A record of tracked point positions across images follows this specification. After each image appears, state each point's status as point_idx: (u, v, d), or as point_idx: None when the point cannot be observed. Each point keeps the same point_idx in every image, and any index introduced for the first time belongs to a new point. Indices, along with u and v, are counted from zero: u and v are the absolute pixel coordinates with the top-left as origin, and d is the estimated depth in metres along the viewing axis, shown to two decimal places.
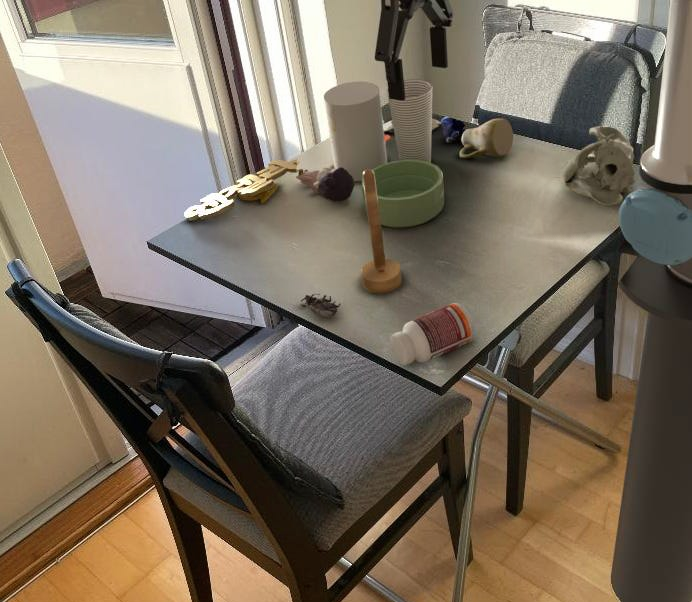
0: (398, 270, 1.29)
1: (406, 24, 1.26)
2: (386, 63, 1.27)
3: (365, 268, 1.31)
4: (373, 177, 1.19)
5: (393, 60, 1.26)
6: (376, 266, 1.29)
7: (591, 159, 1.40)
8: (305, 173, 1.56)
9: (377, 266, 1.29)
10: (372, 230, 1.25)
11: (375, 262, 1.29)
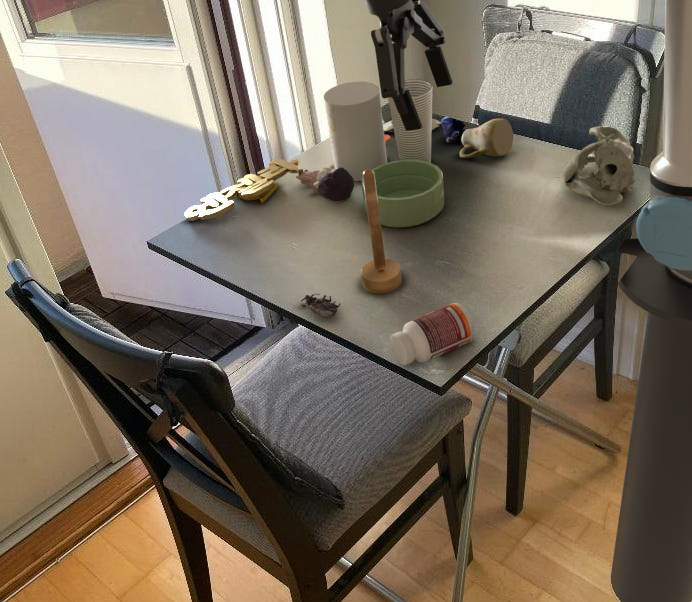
0: (398, 270, 1.29)
1: (403, 54, 1.24)
2: (394, 97, 1.25)
3: (365, 268, 1.31)
4: (373, 177, 1.19)
5: (400, 92, 1.24)
6: (376, 266, 1.29)
7: (591, 159, 1.40)
8: (305, 173, 1.56)
9: (377, 266, 1.29)
10: (372, 230, 1.25)
11: (375, 262, 1.29)
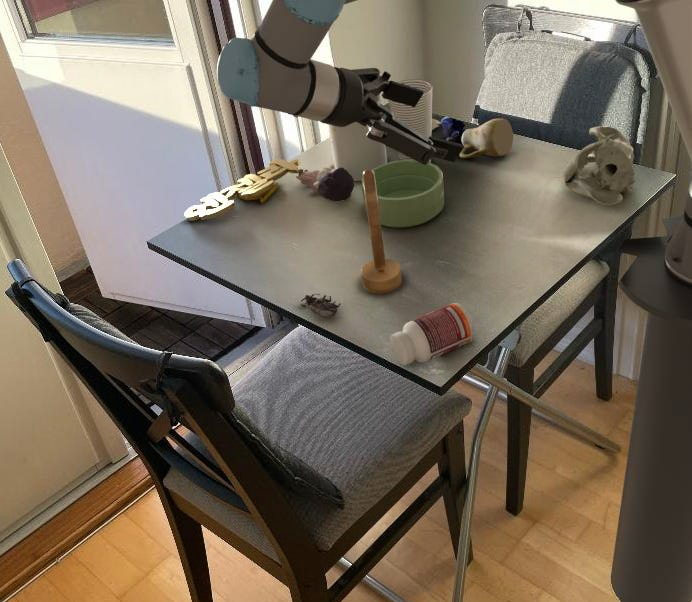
0: (398, 270, 1.29)
1: (398, 120, 1.14)
2: None
3: (365, 268, 1.31)
4: (373, 177, 1.19)
5: (431, 145, 1.14)
6: (376, 266, 1.29)
7: (591, 159, 1.40)
8: (305, 173, 1.56)
9: (377, 266, 1.29)
10: (372, 230, 1.25)
11: (375, 262, 1.29)
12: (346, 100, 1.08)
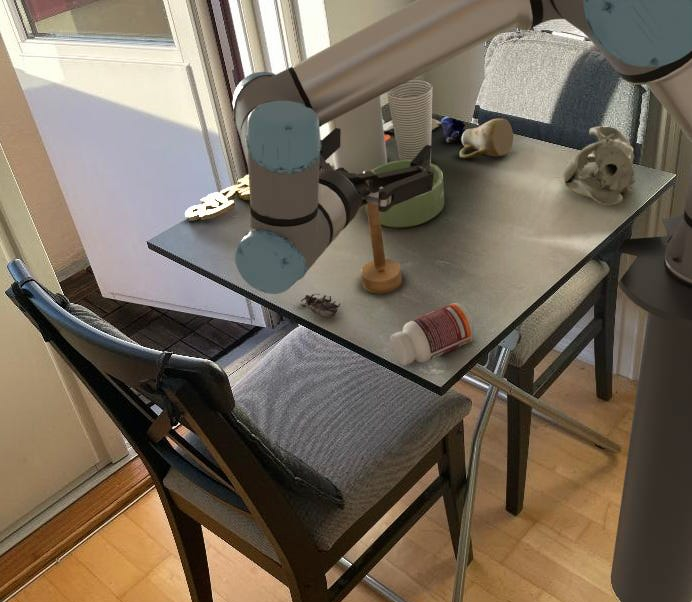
0: (398, 270, 1.29)
1: (381, 174, 1.04)
2: None
3: (365, 268, 1.31)
4: None
5: (422, 169, 1.06)
6: (376, 266, 1.29)
7: (591, 159, 1.40)
8: None
9: (377, 266, 1.29)
10: (372, 230, 1.25)
11: (375, 262, 1.29)
12: (348, 199, 0.98)
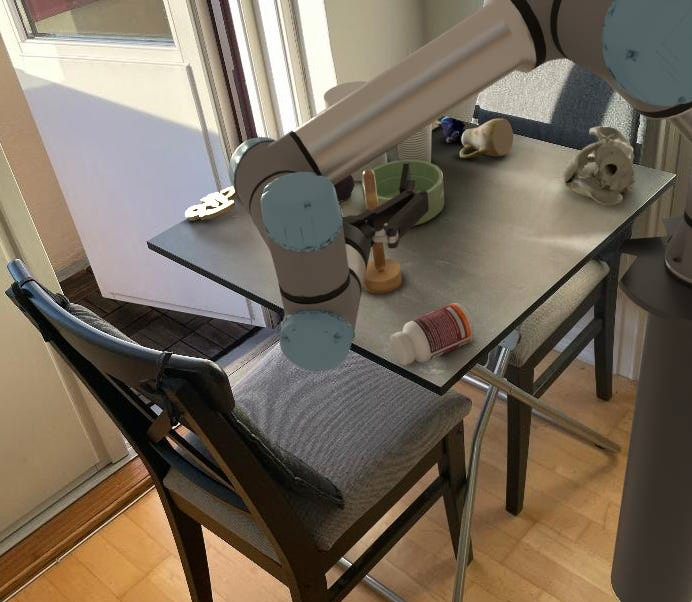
0: (398, 270, 1.29)
1: (377, 208, 1.00)
2: None
3: None
4: (373, 177, 1.19)
5: (413, 191, 1.02)
6: (376, 266, 1.29)
7: (591, 159, 1.40)
8: None
9: (377, 266, 1.29)
10: None
11: (375, 262, 1.29)
12: (362, 247, 0.93)
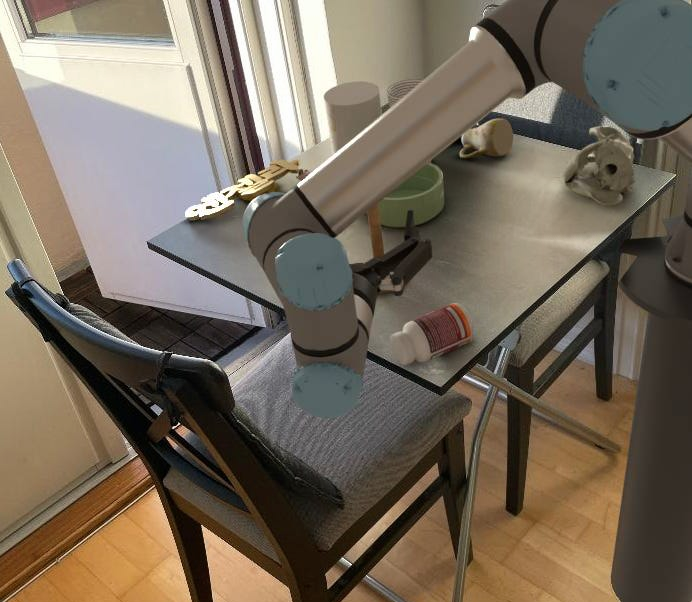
0: None
1: (383, 256, 1.05)
2: None
3: None
4: None
5: (417, 239, 1.07)
6: None
7: (591, 159, 1.40)
8: (305, 173, 1.56)
9: None
10: (372, 230, 1.25)
11: None
12: (369, 296, 0.98)
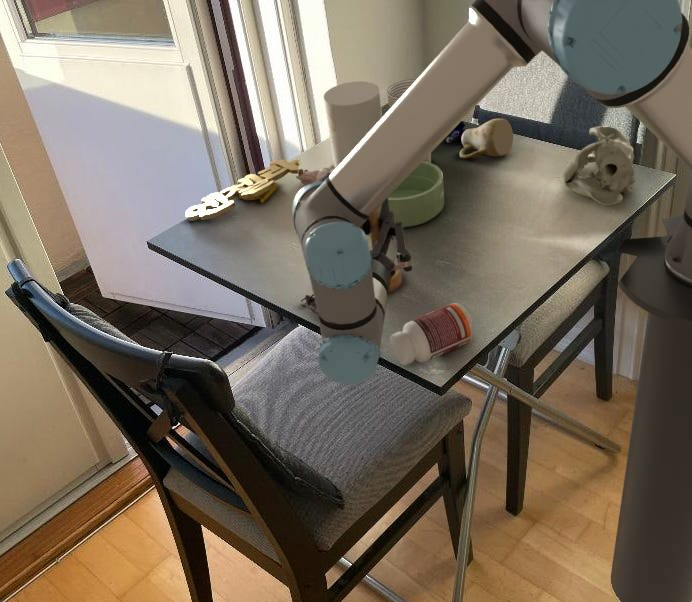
0: (398, 270, 1.29)
1: (378, 241, 1.19)
2: None
3: None
4: None
5: None
6: None
7: (591, 159, 1.40)
8: (305, 173, 1.56)
9: None
10: (372, 230, 1.25)
11: None
12: (384, 279, 1.10)
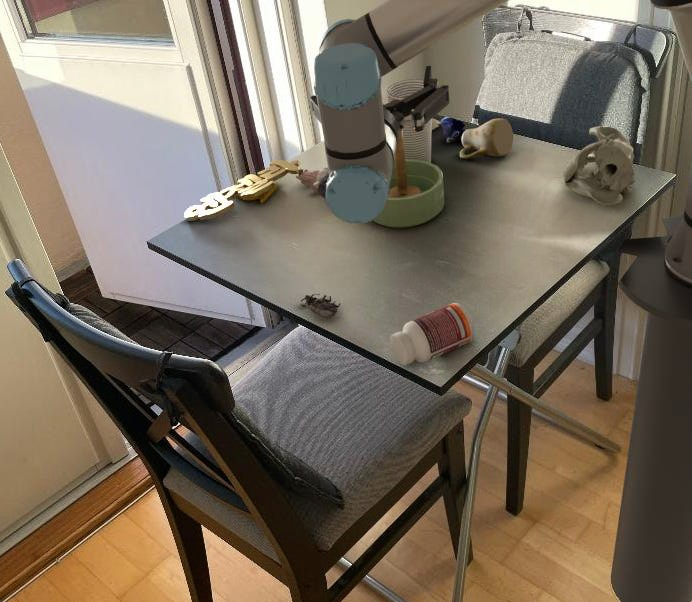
0: (419, 193, 1.45)
1: (405, 99, 1.14)
2: None
3: None
4: None
5: (436, 86, 1.16)
6: (399, 190, 1.45)
7: (591, 159, 1.40)
8: (305, 173, 1.56)
9: (400, 190, 1.45)
10: (396, 155, 1.40)
11: (398, 186, 1.45)
12: (393, 125, 1.07)
